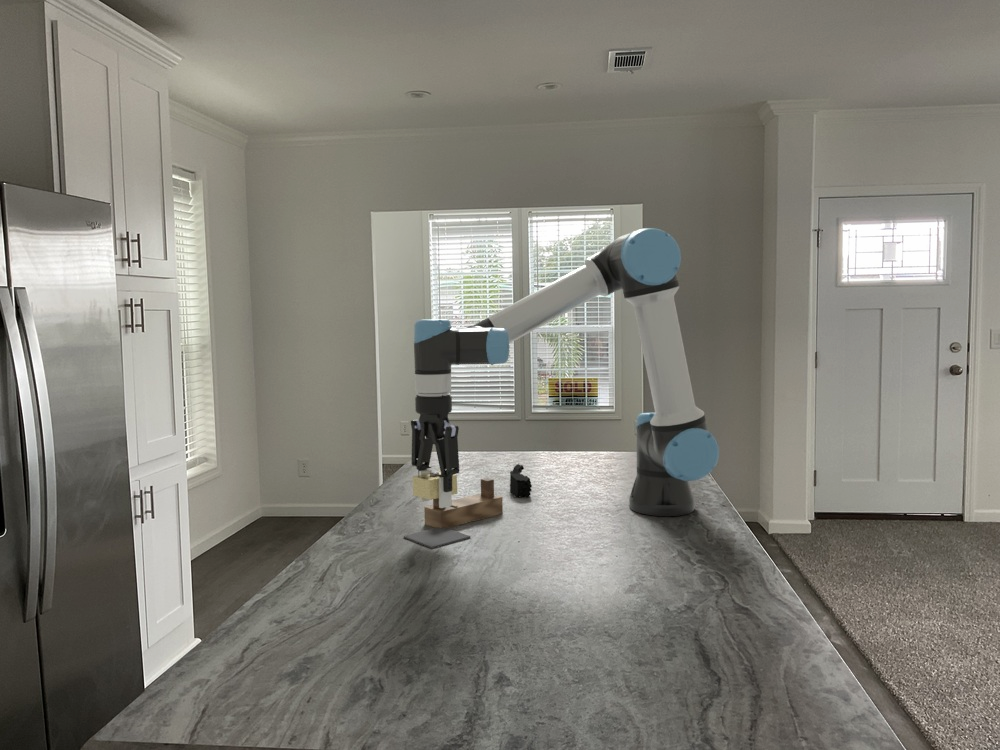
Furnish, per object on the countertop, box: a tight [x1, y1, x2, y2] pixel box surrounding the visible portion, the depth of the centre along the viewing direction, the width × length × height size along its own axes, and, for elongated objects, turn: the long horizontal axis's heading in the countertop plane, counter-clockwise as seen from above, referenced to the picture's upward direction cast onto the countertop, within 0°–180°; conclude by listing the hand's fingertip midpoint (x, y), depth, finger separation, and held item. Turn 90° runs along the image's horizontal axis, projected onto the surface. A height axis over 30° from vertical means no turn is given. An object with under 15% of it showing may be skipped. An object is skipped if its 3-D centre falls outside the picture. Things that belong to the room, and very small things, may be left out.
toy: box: [509, 463, 533, 499], centre depth 194 cm, size 15×5×7 cm, turn 6°
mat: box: [403, 527, 471, 549], centre depth 156 cm, size 10×10×1 cm
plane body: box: [423, 477, 504, 529], centre depth 169 cm, size 18×6×8 cm, turn 131°
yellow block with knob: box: [412, 471, 458, 501], centre depth 155 cm, size 7×6×5 cm
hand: (435, 503), depth 155 cm, fingers closed on yellow block with knob, 6 cm apart
